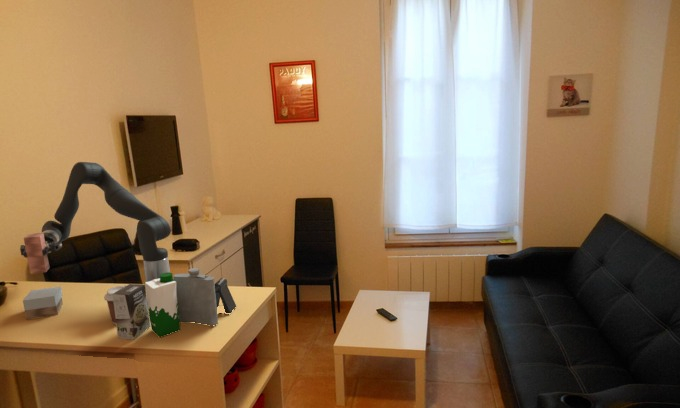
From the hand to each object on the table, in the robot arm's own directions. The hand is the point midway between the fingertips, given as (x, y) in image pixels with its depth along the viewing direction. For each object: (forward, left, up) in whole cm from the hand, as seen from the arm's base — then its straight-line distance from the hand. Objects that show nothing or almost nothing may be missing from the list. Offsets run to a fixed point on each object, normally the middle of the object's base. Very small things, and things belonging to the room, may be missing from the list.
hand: (34, 253), depth 159 cm
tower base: (+1, -3, -24) cm, 25 cm away
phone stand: (-63, +25, -24) cm, 72 cm away
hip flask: (-54, +31, -24) cm, 66 cm away
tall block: (0, -3, -7) cm, 8 cm away
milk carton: (-43, +33, -24) cm, 59 cm away
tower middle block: (0, -3, -20) cm, 21 cm away
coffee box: (-33, +30, -24) cm, 50 cm away
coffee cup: (-28, +18, -24) cm, 41 cm away
